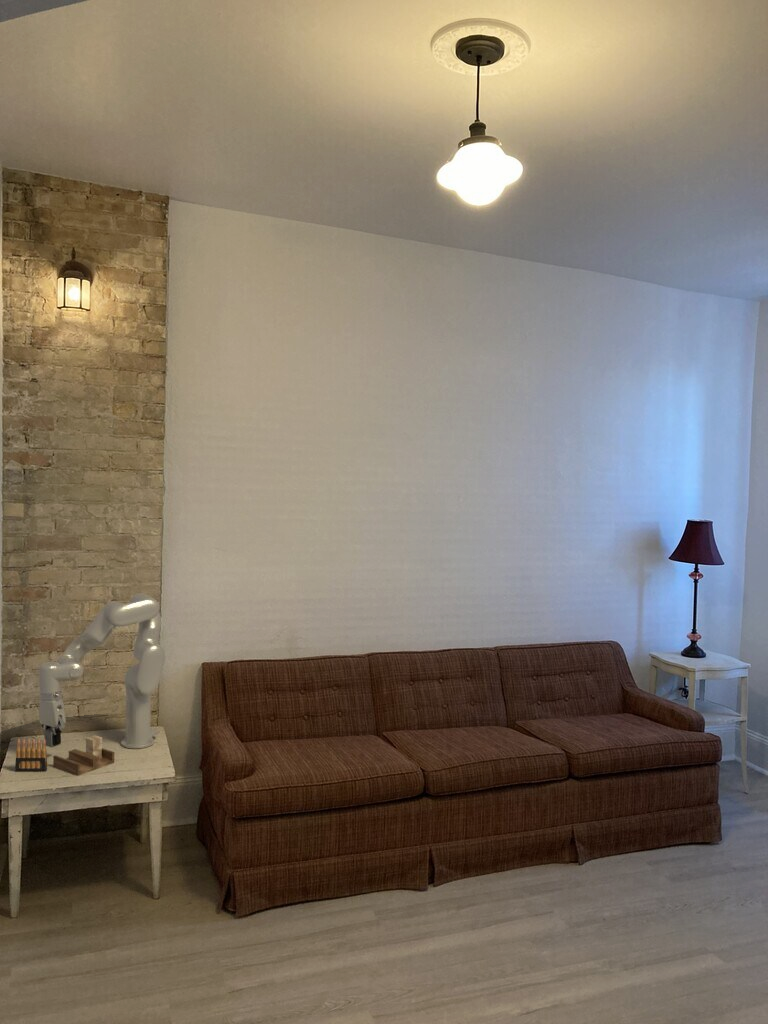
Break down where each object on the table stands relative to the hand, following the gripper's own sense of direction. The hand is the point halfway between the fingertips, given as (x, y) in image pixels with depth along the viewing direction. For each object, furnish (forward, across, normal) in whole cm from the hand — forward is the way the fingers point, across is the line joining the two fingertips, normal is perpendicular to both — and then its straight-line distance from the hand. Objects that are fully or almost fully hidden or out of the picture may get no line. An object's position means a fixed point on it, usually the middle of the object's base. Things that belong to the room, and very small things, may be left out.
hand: (52, 742), depth 308 cm
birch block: (+6, -14, -7) cm, 17 cm away
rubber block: (+1, 0, 0) cm, 1 cm away
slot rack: (+6, -14, -2) cm, 16 cm away
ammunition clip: (+6, -4, +12) cm, 14 cm away
